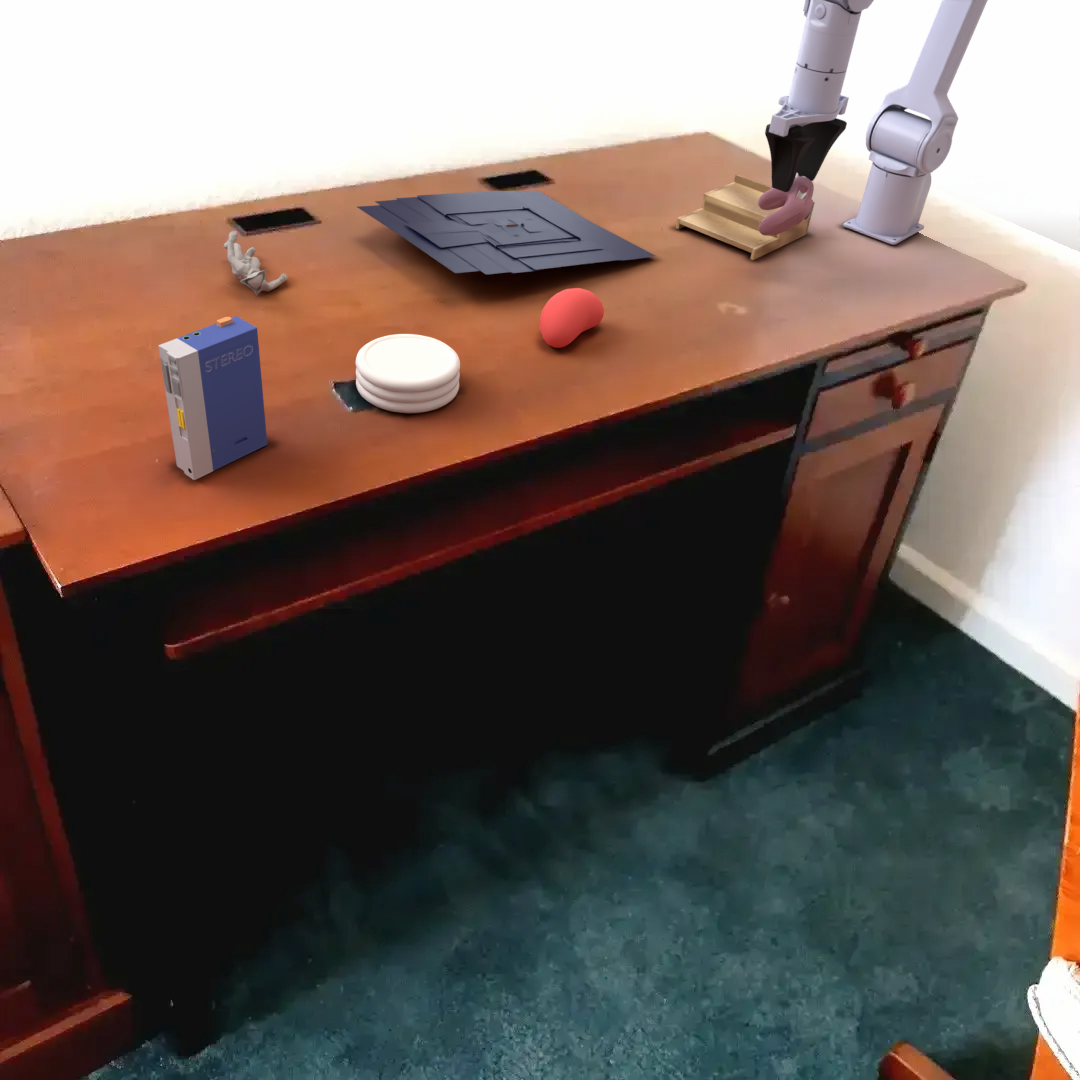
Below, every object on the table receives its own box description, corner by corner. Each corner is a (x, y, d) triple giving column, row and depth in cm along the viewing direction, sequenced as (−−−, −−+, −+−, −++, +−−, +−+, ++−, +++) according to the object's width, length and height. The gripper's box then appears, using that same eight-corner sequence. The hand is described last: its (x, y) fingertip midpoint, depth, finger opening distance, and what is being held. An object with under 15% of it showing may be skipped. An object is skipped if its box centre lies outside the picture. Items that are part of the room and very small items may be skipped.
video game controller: (784, 252, 128) (824, 206, 124) (754, 231, 127) (793, 184, 123) (783, 221, 136) (819, 176, 132) (754, 201, 135) (790, 155, 131)
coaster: (413, 352, 109) (413, 322, 107) (479, 393, 104) (481, 361, 102) (335, 383, 103) (333, 351, 101) (401, 427, 98) (402, 395, 96)
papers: (346, 223, 130) (348, 193, 128) (532, 209, 148) (537, 183, 146) (461, 303, 116) (466, 272, 114) (652, 277, 134) (659, 249, 132)
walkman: (247, 432, 95) (235, 311, 88) (267, 445, 94) (257, 323, 87) (173, 467, 90) (153, 342, 83) (193, 481, 89) (175, 355, 82)
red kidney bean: (520, 341, 116) (524, 309, 110) (575, 293, 119) (583, 260, 113) (554, 371, 115) (561, 341, 109) (609, 322, 118) (618, 290, 112)
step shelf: (730, 205, 150) (737, 173, 147) (806, 234, 144) (814, 202, 141) (675, 228, 141) (681, 195, 138) (753, 260, 135) (761, 226, 133)
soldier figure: (276, 265, 124) (306, 277, 114) (251, 299, 124) (279, 313, 114) (221, 221, 120) (248, 229, 110) (195, 255, 120) (220, 266, 110)
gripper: (822, 48, 127) (795, 161, 135) (758, 66, 118) (733, 186, 126) (875, 63, 123) (843, 178, 132) (813, 83, 114) (784, 205, 123)
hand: (793, 183), depth 129 cm, fingers closed on video game controller, 5 cm apart
